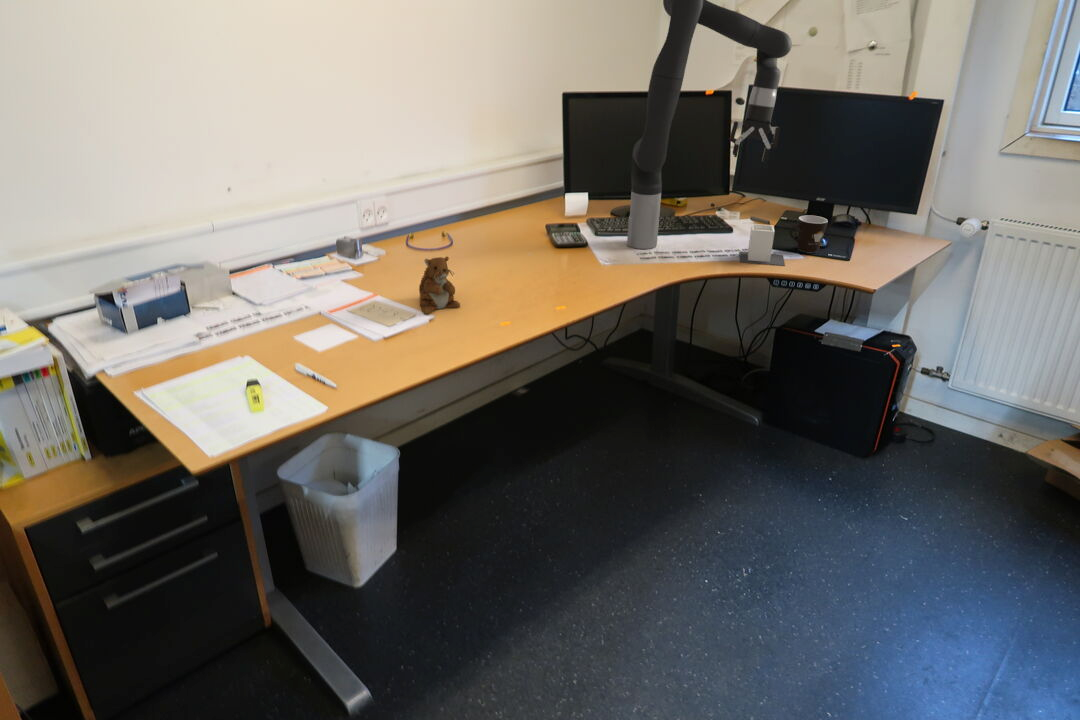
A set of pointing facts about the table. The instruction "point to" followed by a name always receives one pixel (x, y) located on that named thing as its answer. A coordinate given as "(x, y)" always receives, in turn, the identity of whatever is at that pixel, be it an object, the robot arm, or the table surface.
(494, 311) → the table surface
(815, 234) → the coffee mug
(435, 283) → the brown plush animal
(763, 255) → the canister
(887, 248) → the table surface
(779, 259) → the mat
